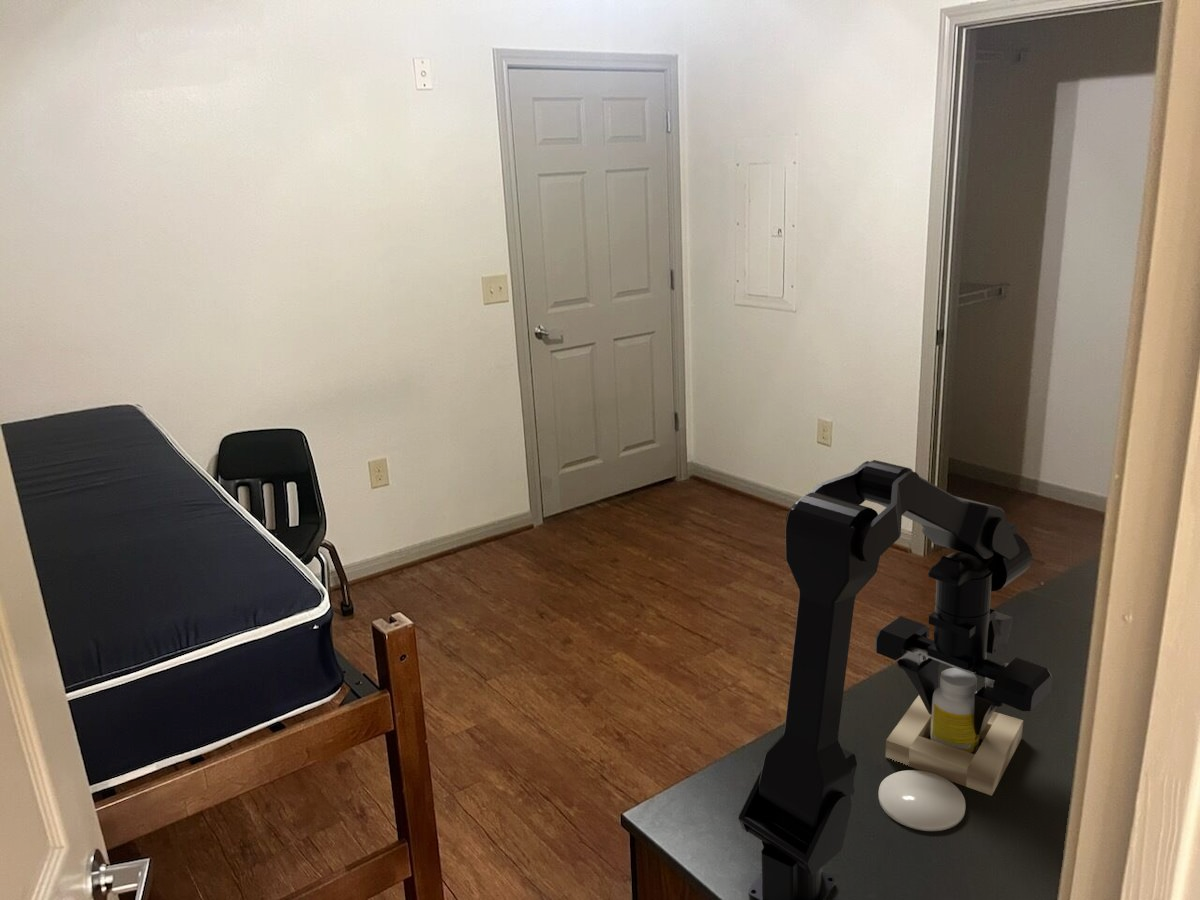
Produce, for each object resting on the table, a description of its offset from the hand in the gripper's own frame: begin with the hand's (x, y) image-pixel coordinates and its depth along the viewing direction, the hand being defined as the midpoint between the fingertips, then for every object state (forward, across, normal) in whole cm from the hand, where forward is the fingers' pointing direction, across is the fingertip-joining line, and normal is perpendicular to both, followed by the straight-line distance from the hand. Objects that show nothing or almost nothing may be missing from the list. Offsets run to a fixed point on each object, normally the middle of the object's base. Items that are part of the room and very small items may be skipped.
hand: (955, 722), depth 106 cm
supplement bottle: (+4, 0, 0) cm, 4 cm away
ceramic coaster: (+4, -2, +11) cm, 12 cm away
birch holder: (+4, 0, 0) cm, 4 cm away
